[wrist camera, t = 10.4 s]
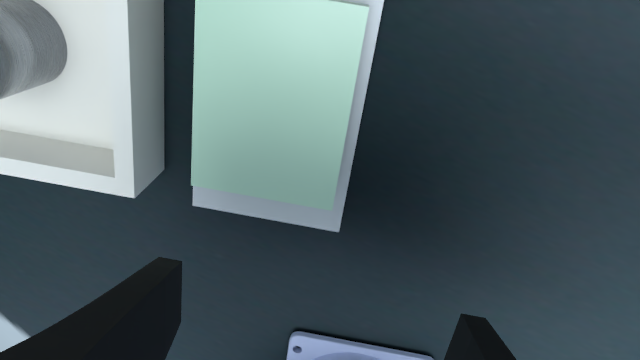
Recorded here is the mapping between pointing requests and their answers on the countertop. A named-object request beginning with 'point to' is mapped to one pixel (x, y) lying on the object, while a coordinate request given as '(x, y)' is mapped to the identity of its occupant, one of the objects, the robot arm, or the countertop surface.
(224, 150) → the mint green flat block
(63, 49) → the cell
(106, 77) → the white tray
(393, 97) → the countertop surface
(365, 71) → the base
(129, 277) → the robot arm
